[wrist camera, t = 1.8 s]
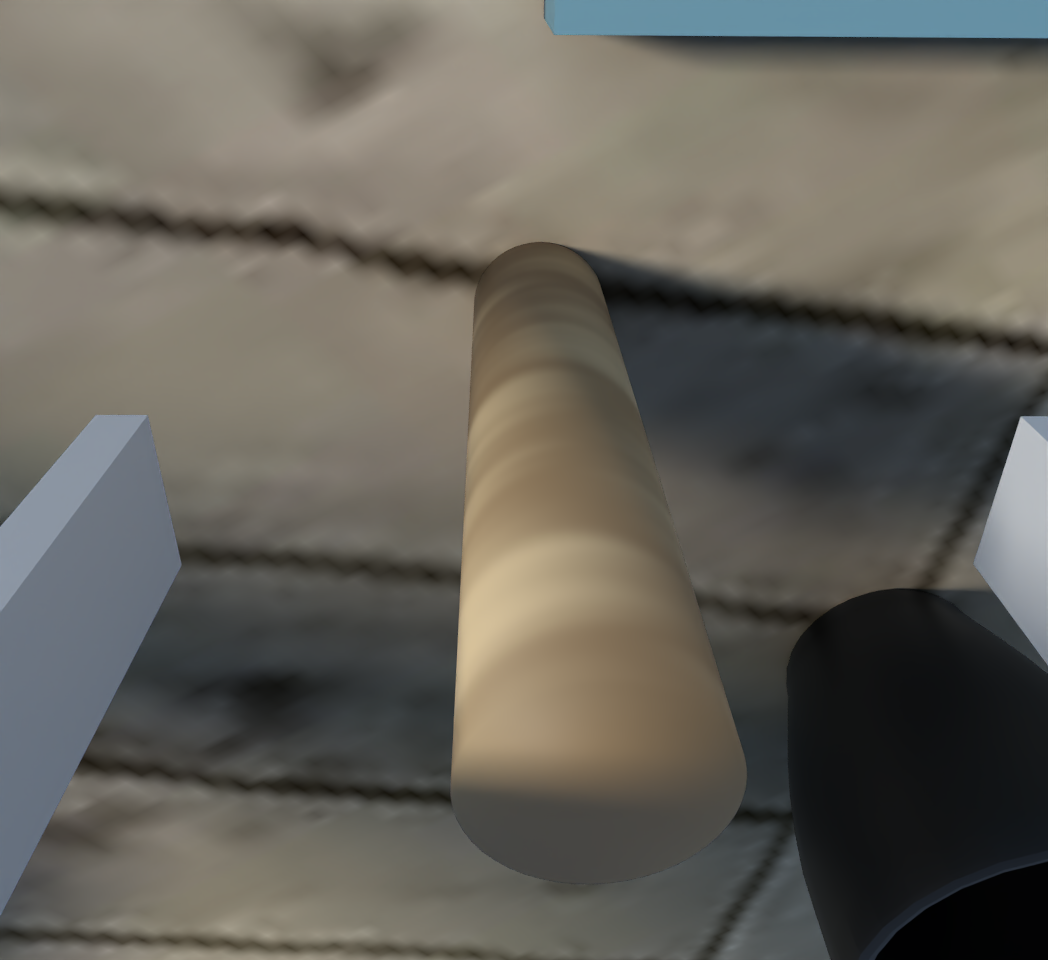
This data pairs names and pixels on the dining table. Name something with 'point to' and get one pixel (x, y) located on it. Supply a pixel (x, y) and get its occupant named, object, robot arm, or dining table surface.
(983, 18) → the bore slab
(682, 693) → the dowel
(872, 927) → the mug
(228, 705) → the dining table surface
